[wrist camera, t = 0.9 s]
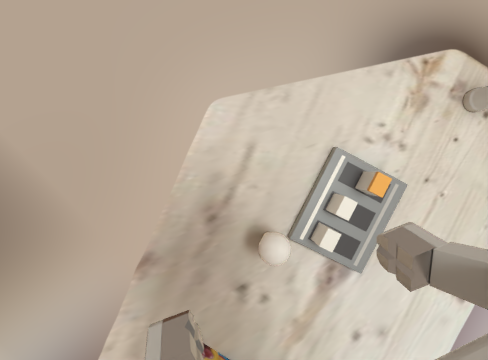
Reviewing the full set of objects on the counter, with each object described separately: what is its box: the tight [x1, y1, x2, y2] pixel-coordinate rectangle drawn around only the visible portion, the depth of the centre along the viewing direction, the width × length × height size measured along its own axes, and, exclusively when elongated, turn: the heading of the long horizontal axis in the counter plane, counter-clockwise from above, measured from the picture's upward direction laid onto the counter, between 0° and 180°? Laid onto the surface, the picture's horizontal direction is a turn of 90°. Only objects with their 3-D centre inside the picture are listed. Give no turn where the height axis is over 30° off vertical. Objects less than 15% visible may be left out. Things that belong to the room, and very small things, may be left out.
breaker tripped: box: [355, 171, 392, 198], centre depth 51 cm, size 3×4×5 cm
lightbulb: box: [258, 232, 291, 266], centre depth 50 cm, size 6×6×11 cm
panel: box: [288, 147, 407, 273], centre depth 52 cm, size 18×22×7 cm
